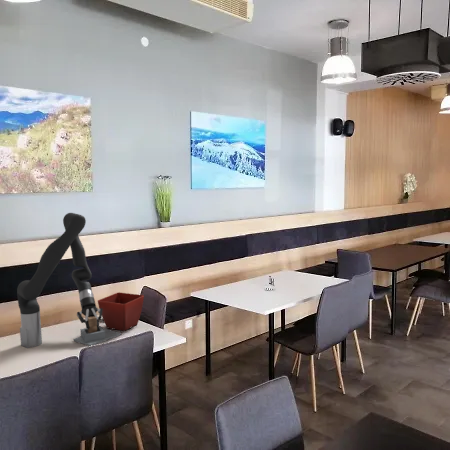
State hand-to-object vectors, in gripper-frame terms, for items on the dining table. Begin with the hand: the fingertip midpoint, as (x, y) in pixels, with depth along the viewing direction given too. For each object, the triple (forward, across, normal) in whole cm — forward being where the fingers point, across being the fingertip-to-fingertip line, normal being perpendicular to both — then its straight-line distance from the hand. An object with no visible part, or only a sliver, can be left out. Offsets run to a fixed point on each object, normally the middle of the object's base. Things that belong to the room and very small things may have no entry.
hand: (93, 327), depth 236 cm
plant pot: (-5, +19, +15) cm, 25 cm away
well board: (+3, +3, +7) cm, 8 cm away
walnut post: (+2, 0, +4) cm, 5 cm away
